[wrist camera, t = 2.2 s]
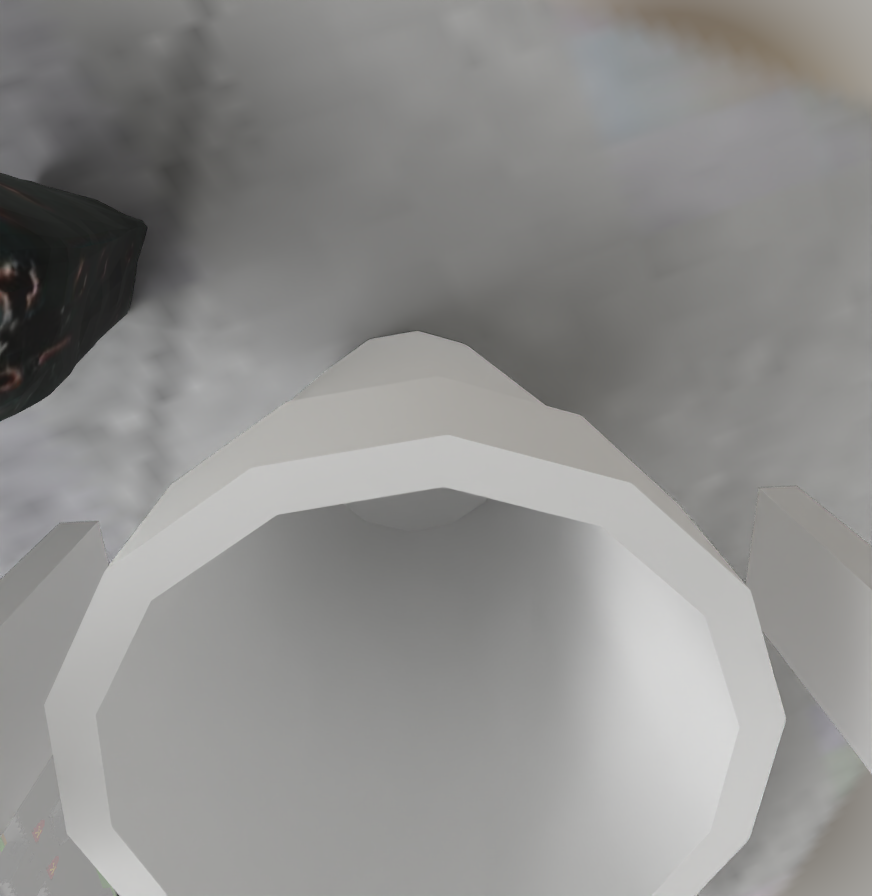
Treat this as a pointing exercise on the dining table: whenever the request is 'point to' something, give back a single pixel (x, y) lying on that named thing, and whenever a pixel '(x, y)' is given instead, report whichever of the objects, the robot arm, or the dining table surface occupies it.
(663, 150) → the dining table surface
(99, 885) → the castle model
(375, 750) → the foam cup
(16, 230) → the green elephant statue
